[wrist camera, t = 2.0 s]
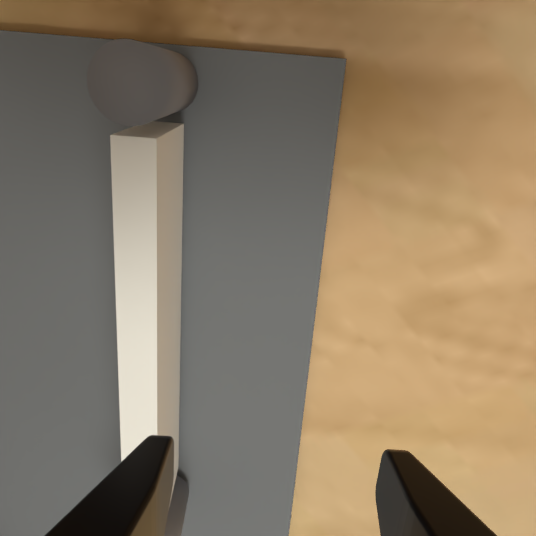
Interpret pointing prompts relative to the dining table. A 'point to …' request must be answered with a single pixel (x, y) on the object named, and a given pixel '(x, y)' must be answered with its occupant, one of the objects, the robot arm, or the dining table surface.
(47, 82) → the plate with peg
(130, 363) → the gate
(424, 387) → the dining table surface
